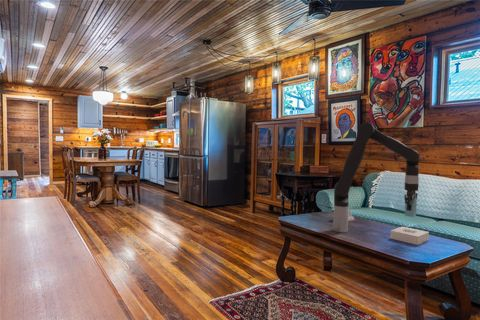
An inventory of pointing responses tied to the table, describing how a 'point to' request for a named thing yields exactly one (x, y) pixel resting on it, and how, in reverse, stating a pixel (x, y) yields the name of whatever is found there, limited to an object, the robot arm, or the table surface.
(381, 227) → the table surface
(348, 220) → the hinge
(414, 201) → the bracket
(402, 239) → the block
